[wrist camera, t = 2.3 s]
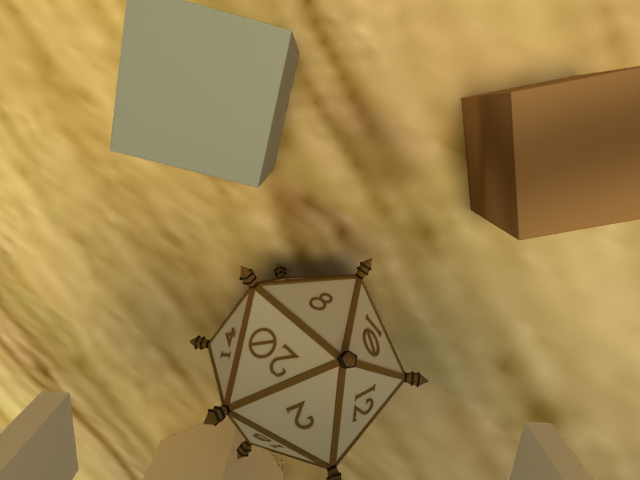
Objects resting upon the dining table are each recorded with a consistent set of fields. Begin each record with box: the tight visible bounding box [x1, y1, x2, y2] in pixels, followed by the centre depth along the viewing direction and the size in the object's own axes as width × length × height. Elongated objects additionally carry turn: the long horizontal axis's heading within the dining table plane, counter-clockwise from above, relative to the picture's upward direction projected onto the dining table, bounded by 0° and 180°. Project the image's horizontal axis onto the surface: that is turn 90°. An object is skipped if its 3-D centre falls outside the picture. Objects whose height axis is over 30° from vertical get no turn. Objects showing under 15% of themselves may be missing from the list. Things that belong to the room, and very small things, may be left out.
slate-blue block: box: [110, 0, 299, 188], centre depth 16 cm, size 5×5×5 cm
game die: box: [190, 258, 428, 480], centre depth 17 cm, size 9×8×10 cm
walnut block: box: [461, 66, 640, 240], centre depth 17 cm, size 5×5×5 cm
